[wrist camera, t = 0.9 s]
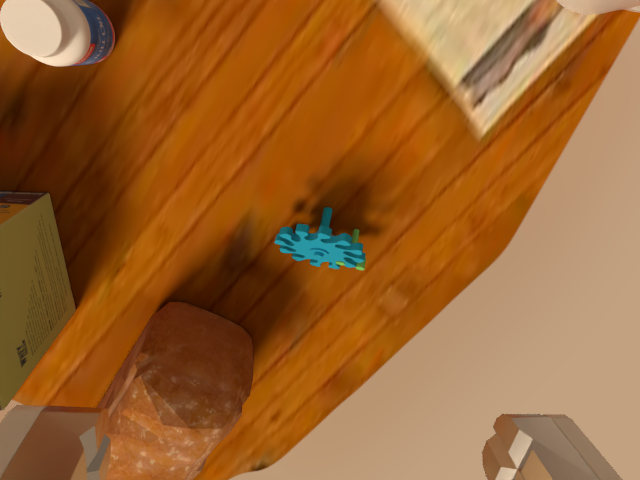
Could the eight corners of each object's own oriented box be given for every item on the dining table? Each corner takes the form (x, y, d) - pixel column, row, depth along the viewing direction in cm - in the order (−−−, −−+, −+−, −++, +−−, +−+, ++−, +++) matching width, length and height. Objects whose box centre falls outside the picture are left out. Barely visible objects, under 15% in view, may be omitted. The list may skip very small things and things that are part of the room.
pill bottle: (111, 72, 39) (66, 81, 31) (49, 50, 38) (-15, 53, 29) (121, 11, 37) (76, 2, 29) (57, -14, 36) (-11, -32, 27)
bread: (263, 333, 55) (261, 434, 41) (174, 455, 63) (147, 574, 49) (165, 289, 50) (125, 384, 36) (82, 426, 58) (23, 548, 44)
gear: (257, 248, 46) (306, 228, 39) (269, 202, 49) (319, 174, 41) (333, 281, 52) (390, 269, 44) (341, 238, 54) (397, 219, 46)
